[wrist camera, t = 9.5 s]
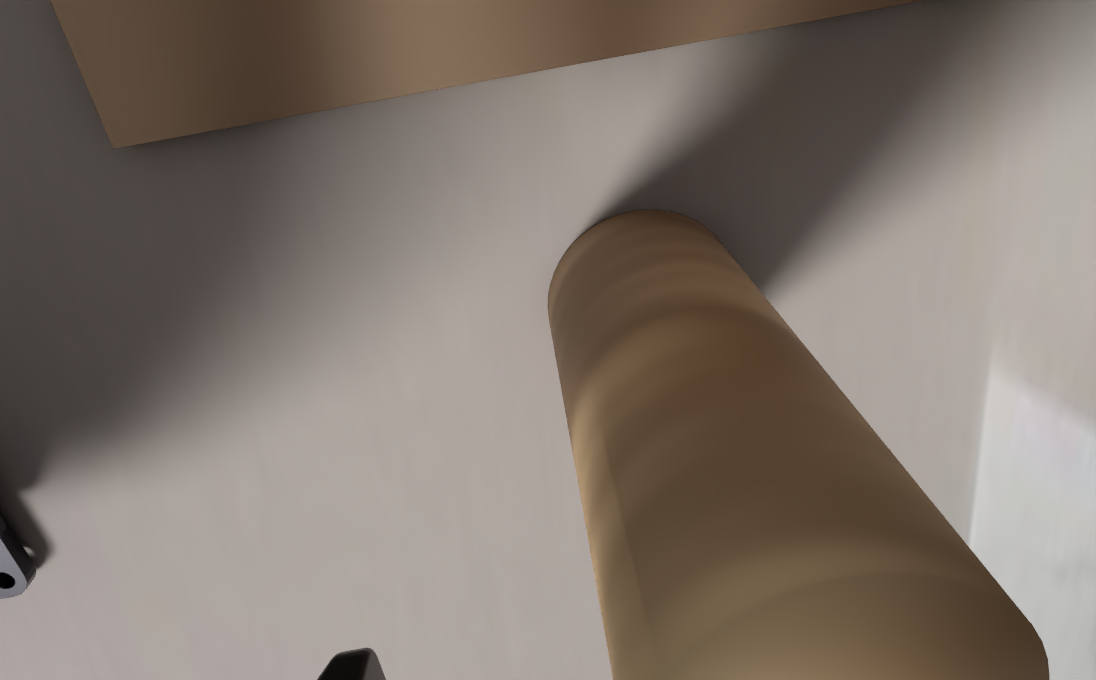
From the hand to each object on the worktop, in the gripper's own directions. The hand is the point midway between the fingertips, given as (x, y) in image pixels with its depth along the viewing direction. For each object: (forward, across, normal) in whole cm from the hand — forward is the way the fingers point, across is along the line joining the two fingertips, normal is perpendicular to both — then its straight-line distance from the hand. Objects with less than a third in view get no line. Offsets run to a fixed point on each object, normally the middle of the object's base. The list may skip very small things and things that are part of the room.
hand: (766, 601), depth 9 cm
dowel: (+8, 0, 0) cm, 8 cm away
